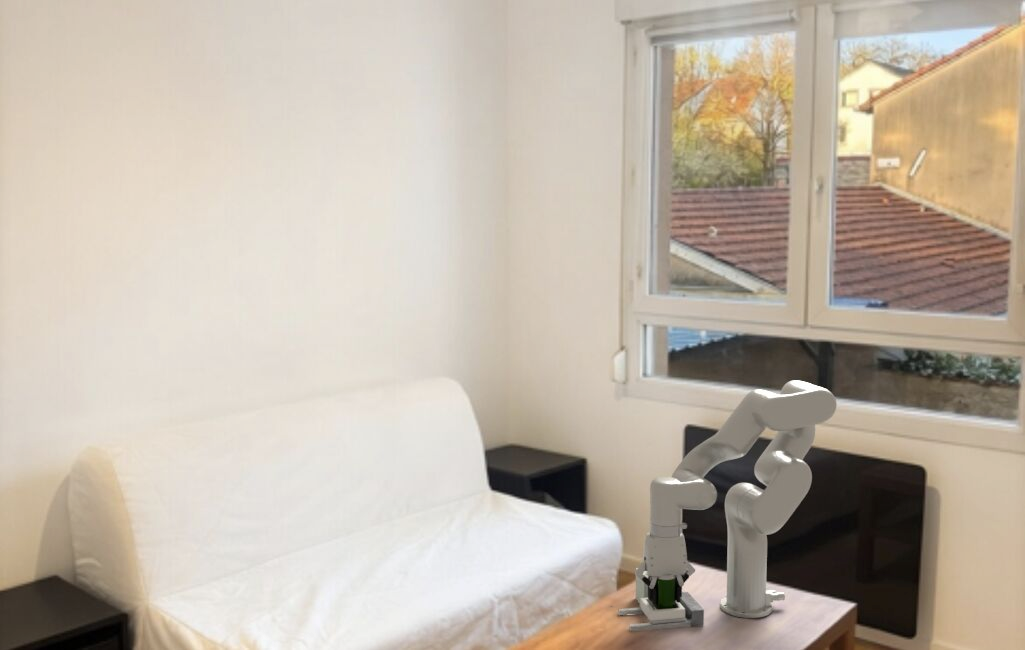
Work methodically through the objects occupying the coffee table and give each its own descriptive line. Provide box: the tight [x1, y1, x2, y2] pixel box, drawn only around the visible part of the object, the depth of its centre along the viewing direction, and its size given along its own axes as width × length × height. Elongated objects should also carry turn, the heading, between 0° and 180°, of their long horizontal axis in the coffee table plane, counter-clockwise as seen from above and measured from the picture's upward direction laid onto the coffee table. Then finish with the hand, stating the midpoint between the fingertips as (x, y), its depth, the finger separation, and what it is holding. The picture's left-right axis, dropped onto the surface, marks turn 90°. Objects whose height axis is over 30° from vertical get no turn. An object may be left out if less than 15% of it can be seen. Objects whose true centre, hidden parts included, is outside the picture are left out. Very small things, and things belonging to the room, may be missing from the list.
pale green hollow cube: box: [635, 567, 648, 604], centre depth 246 cm, size 8×8×8 cm
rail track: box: [618, 591, 705, 632], centre depth 237 cm, size 18×11×4 cm, turn 100°
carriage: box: [638, 597, 687, 624], centre depth 237 cm, size 8×11×2 cm
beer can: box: [653, 574, 676, 610], centre depth 236 cm, size 5×5×12 cm
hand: (664, 600), depth 236 cm, fingers closed on beer can, 5 cm apart
